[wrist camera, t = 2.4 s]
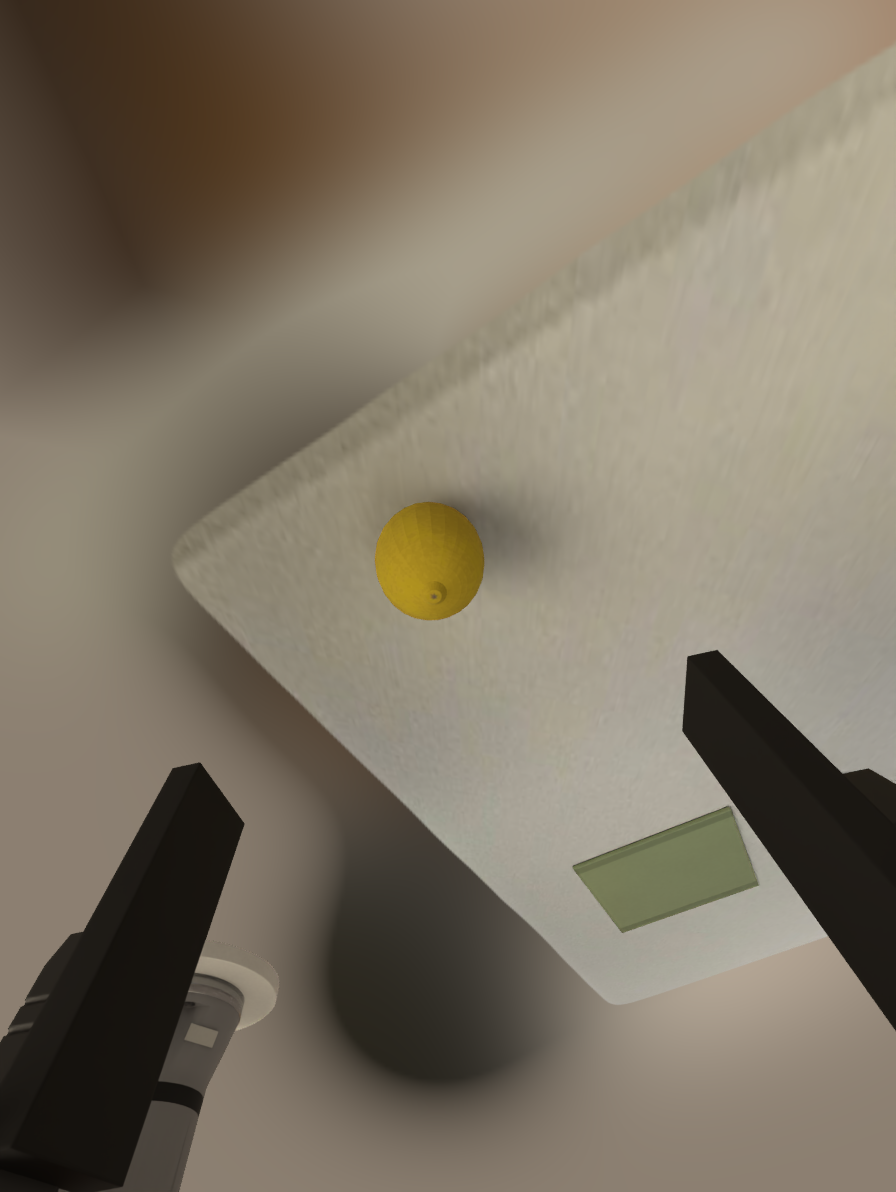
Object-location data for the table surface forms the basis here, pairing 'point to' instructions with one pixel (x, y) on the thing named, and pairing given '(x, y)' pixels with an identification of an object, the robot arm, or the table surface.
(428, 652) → the table surface
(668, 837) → the napkin
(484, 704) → the table surface
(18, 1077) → the robot arm
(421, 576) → the lemon
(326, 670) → the table surface
